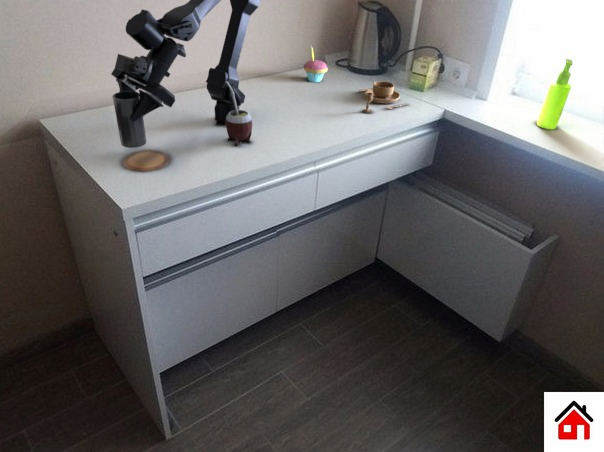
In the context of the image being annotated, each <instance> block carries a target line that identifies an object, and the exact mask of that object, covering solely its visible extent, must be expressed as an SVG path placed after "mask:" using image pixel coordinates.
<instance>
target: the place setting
mask: <svg viewBox="0 0 604 452" xmlns="http://www.w3.org/2000/svg"><path fill="white" fill-rule="evenodd" d="M394 89H395V85H394V83H391V82H389V81H384V80H380V81H375V82H374V83H373V85H372V88H367V89H363V88H361V89H358V91H359V92H361V93H364V102H365V103H366V105H365V109H363V110H362V113H364V114H372V110H371V109H370V103H372V102H373V103H376V104H386V105H387V104H388V105H389V104H393V103H396V102H398V101H399V100H400V98H401V94H400V92H398V91H396V90H394ZM407 105H408V104H407V103H405V104H398V105H393V106H385V108H386V109H389V110H392V109H393V108H397V107H404V106H407Z"/></svg>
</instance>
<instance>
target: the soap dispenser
mask: <svg viewBox="0 0 604 452" xmlns="http://www.w3.org/2000/svg"><path fill="white" fill-rule="evenodd" d="M563 62H564V64H563V68H562V70H560V71H558V73H557V75H556V78H555V81H550V82H549V85H548V87H547V91H546V94H545V97H544V99H543V103H542V106H541V109H540V112H539V115H538V118H537V121H536V126H538V127H539V128H542V129H546V130H556V129H557V127H558V124H559V122H560V119H561V116H562V113H563V111H564V108H565V105H566V103H567V99H568V96H569V94H570V91H571V88H572V85H571V84H569V81H570V78H571V75H572V74H571V72H570V70H571V69H570V68H571V66H573V63H574V62H573V60H572V59H569V58H563Z"/></svg>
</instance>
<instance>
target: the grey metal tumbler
mask: <svg viewBox="0 0 604 452" xmlns="http://www.w3.org/2000/svg"><path fill="white" fill-rule="evenodd" d="M139 99H140V95H139V92H138V91H136V92H134V91H122V92H119V91H118V92H115V93H113V94H112V101H113V106H114V113H115V118H116V123H117V129H118V130H117V131H118V136H119V140H120V145H121V146H122V147H124V148H129V149H136V148H140V147H144V145H145V146H146V144H147V135H146V128H145V122H144V121H145V120H144V116H143V117H141V118H139V119H138V120H136V121H135V122H133V121H131V120H130V117H131V115H132V113H133V111H134V109H135V107H136V105H137V103H138V101H139Z"/></svg>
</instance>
